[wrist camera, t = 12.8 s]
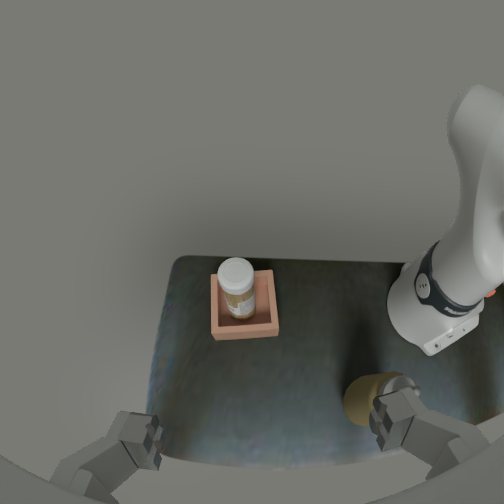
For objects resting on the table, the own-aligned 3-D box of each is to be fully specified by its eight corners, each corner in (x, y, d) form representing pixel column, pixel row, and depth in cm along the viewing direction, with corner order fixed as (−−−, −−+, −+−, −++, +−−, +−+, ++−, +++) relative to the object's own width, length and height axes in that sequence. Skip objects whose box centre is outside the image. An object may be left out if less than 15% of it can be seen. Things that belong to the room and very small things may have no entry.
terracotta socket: (271, 280, 49) (272, 269, 45) (277, 335, 43) (279, 328, 40) (214, 285, 49) (211, 274, 45) (216, 340, 43) (211, 333, 40)
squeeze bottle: (392, 402, 36) (457, 389, 20) (355, 435, 34) (409, 445, 18) (364, 367, 39) (418, 338, 24) (326, 399, 37) (366, 390, 22)
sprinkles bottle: (224, 305, 46) (210, 265, 35) (248, 292, 47) (242, 250, 36) (237, 327, 44) (227, 295, 33) (261, 314, 45) (260, 277, 34)
